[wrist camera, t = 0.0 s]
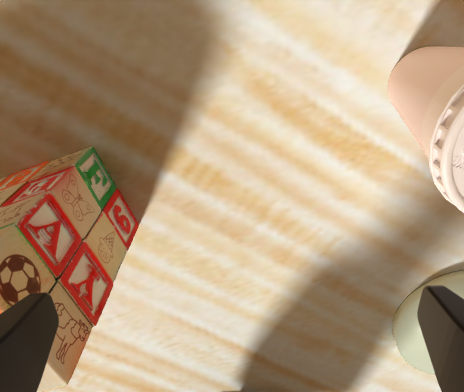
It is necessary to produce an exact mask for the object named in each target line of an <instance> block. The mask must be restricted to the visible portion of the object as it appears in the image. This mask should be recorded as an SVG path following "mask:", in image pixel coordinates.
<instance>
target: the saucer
mask: <svg viewBox="0 0 464 392" xmlns="http://www.w3.org/2000/svg"><path fill="white" fill-rule="evenodd" d="M427 285H443V286H445V287H447V288H448V289H450V290H451V291H453V292H454V293H456V294H457V295H459V296H460V297H462V298H463V299H464V270H463V271H457V272H453V273H449V274H446V275H443V276H440V277H438V278H435V279H433V280H431V281H429V282H427V283H426V284H424V285H422V286H420V287H419V288H418V289H416V290H415V291H414V292H412V293H411V294H410V295H409V296H408V297H407V298H406V299H405V300H404V301H403V303H402V304H401V305H400V307H399V308H398V310H397V312H396V314H395V316H394V320H393V325H392V333H393V337H394V341H395V343H396V345H397V348H398V350H399V352H400V354H401V356H402V357H403V358H404V360H405V361H406V362H407V363H409V364H410V365H411V366H413V367H414V368H416V369H418V370H420V371H422V372H425V373H428V374H433V375H435V372H434V369H433V366H432V363H431V360H430V356H429V353H428V350H427V347H426V344H425V341H424V338H423V335H422V332H421V328H420V325H419V322H418V318H417V311H418V306H419V302H420V298H421V294H422V290H423V288H424V287H425V286H427Z"/></svg>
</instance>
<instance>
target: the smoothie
mask: <svg viewBox="0 0 464 392" xmlns="http://www.w3.org/2000/svg"><path fill="white" fill-rule="evenodd" d="M388 95H389V99H390V101H391V103H392V104H393V106H394V107H395V109H396V110H397V112H398V113H399V115H400V117H401V118H402V120H403V121H404V123H405V124H406V126H407V127H408V129H409V130H410V132H411V133H412V135H413V136H414V138H415V139H416V141H417V142H418V144H419V145H420V147H421V148H422V150H423V151H424V153H425V154H426V156H427V157H428V159H429V168H430V171H431V174H432V178H433V181H434V184H435V185H436V187H437V188H438V190H439V191H440V192H441V194H442V195H443V196H444V198H445V199H446V200H448V201H449V202H450V203H452V204H453V205H455V206H456V207H457V208H458V209H459V210H460V211H461V212H463V213H464V47H439V46H428V47H422V48H419V49H416V50H414V51H412V52H410V53H408V54H407V55H406V56H404V57H403V58H402V59H401V60H400V61H399V62H398V63H397V64H396V66H395V67H394V69H393V71H392V73H391V75H390V78H389V82H388Z"/></svg>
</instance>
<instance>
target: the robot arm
mask: <svg viewBox="0 0 464 392" xmlns="http://www.w3.org/2000/svg"><path fill="white" fill-rule="evenodd" d="M417 318H418V322H419V325H420V328H421V332H422V335H423V338H424V341H425V344H426V347H427V350H428V353H429V356H430V360H431V363H432V366H433V369H434V372H435V375H436V378H437V381H438V383H439V386H440V388H441V391H442V392H464V299H463V298H462V297H460V296H459V295H457V294H456V293H454V292H453V291H451V290H450V289H448V288H447V287H445V286H443V285H427V286H425V287H424V288H423V290H422V294H421V298H420V302H419V306H418V311H417ZM58 326H59V316H58V313H57V310H56V307H55V305H54V302H53V299H52V297H51V295H50V294H49V293H47V292H36V293H31V294H29V295H27V296H26V297H24V298H23V299H21V300H20V301H18V302H17V303H16V304H14V305H13V306H11V307H10V308H8V309H7V310H5V311H4V312H2V313H1V314H0V392H37V390H38V387H39V385H40V382H41V379H42V376H43V373H44V370H45V367H46V364H47V360H48V357H49V354H50V351H51V348H52V345H53V342H54V338H55V335H56V332H57V329H58Z"/></svg>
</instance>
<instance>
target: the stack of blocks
mask: <svg viewBox="0 0 464 392" xmlns="http://www.w3.org/2000/svg"><path fill="white" fill-rule="evenodd" d="M138 226H139V224H138V222H137V221H136V219H135V217H134V215H133V214H132V212H131V210H130V208H129V207H128V205H127V203H126V202H125V200H124V198H123V197H122V195H121V193H120V191H119V190H118V189H117V188H116V186H115V184H114V182H113V181H112V179H111V177H110V176H109V174H108V172H107V170H106V169H105V167H104V165H103V163H102V162H101V160H100V158H99V156H98V155H97V153H96V151H95V149H94V148H93V147H88V148H85V149H83V150H80V151H77V152H75V153H72V154H69V155H66V156H64V157H61V158H58V159H56V160H53V161H46V162H44V163H41V164H38V165H36V166H33V167H30V168H28V169H25V170H23V171H20V172H17V173H14V174H12V175H10V176H6V177H4V178H1V179H0V314H1V313H2V312H4V311H5V310H7V309H8V308H10V307H11V306H13V305H14V304H16V303H17V302H18V301H20V300H21V299H23V298H24V297H26V296H27V295H29V294H31V293H36V292H47V293H49V294H50V295H51V297H52V299H53V302H54V305H55V307H56V310H57V313H58V316H59V326H58V329H57V332H56V335H55V338H54V342H53V345H52V348H51V351H50V354H49V357H48V360H47V364H46V367H45V370H44V373H43V376H42V379H41V382H40V385H39V387H38V390H37V392H44V391H48V390H53V389H57V388H61V387H64V386H66V385H67V384H68V382H69V381H70V379H71V377H72V375H73V372H74V370H75V368H76V365H77V363H78V361H79V358H80V356H81V354H82V351H83V349H84V347H85V344H86V342H87V340H88V337H89V335H90V333H91V329H92V327H94V326H96V324H97V322H98V320H99V318H100V315H101V314H102V311H103V308H104V306H105V304H106V302H107V299H108V297H109V295H110V292H111V290H112V287H113V282H114V280H115V278H116V276H117V273H118V270H119V268H120V266H121V264H122V261H123V259H124V257H125V254H126V251H128V249H129V247H130V245H131V242H132V240H133V237H134V235H135V233H136V231H137V229H138Z"/></svg>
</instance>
